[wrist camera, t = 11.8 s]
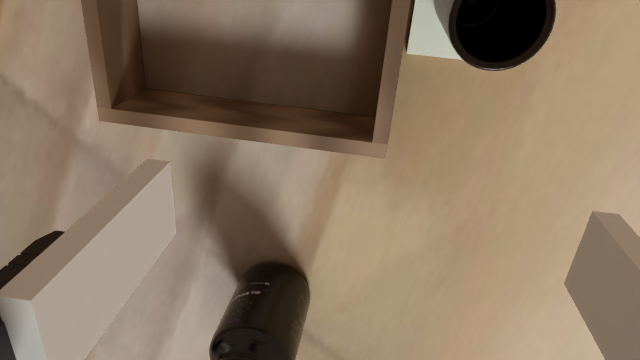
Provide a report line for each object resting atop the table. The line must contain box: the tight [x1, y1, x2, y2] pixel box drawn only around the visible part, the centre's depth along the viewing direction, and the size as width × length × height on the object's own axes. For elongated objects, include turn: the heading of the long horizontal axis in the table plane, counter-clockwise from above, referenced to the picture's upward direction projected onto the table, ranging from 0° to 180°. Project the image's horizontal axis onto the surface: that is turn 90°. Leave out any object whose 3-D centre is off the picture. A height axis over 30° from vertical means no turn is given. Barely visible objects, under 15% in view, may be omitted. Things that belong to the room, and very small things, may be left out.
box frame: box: [81, 0, 411, 158], centre depth 31 cm, size 20×13×5 cm, turn 86°
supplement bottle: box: [209, 262, 310, 360], centre depth 38 cm, size 7×7×12 cm
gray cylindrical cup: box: [434, 0, 556, 71], centre depth 25 cm, size 4×4×10 cm
